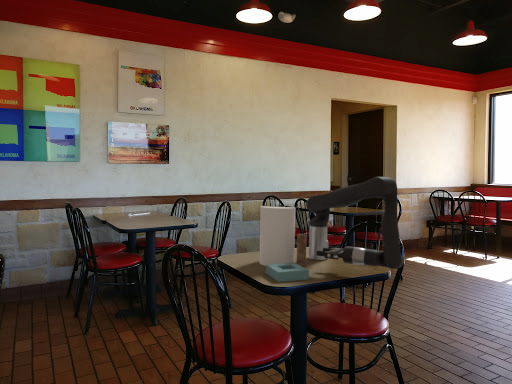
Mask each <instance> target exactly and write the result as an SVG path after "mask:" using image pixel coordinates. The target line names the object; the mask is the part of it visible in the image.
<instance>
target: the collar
mask: <svg viewBox="0 0 512 384" xmlns="http://www.w3.org/2000/svg"><path fill="white" fill-rule="evenodd" d="M309 272H310V270H309V268H307V267H306V268H304V267H302V266H300V265H298V264H297V262H294V263H281V264H266V266H265V274H266V275H267V276H269V277H270V278H272V279H273V280H275V281H276V282H278V283H280V282H293V281H304V280H306V281H307V280H310V279H309V278H310V276H309V274H310V273H309Z"/></svg>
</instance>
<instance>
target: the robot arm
mask: <svg viewBox="0 0 512 384" xmlns="http://www.w3.org/2000/svg"><path fill="white" fill-rule="evenodd" d="M374 198H377V199H382V200H383V204H384V205H383V206H384V211H383V215H382V216H383V217H382V219H381V224H380V227H381V228H380V231H381V237H382V244H383V250H376V249H372V248H371V249H369V248H365V247H364V248H363V247H356V246H348V245H346V246H344V248H341V247H329V240H328V224H329V221H330V211H331V209H338V208H346V207H351V206H355V205H356V204H357V205H358V203H359V202H361V201H362V200H365V199H374ZM305 205H306V209H307V210H308V212H310V213H312V214H315V216H314V217H313V218H311V219H310V220H309V231H308V233H309V235H308V237H309V239H308V259H310V260H312V261H313V260H315V261H324V260H328V259H330V260H339V259H342V262H343V264H352V265H357V266H367V267H368V266H370V267H382V268H384V267H385V268H389V269H391V270H396V269H400V268H401V267H403V266H404V263H405V258H404V256H403V255H402V253H401V248H400V244H401V238H400V236H401V235H400V231H399V224H398V184H397V182H396V181H395V179H394V178H392V177H387V176H374V177H372V178H370V179H368V180H364V182H361V183H356V184H351V185H348V186H344V187H340V188H338V189H334V190H332V191H329V192H327V193H323V194H317V195H311V196H310V197H309V198H307V200H306V203H305Z"/></svg>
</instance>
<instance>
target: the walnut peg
mask: <svg viewBox="0 0 512 384" xmlns="http://www.w3.org/2000/svg"><path fill="white" fill-rule="evenodd" d="M296 235H297V236H296V264H298V265H300V266H302V267H304V268H306V269H307V240H308V239H307V238H308V237H307V233H297V234H296Z"/></svg>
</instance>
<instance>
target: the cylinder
mask: <svg viewBox="0 0 512 384" xmlns="http://www.w3.org/2000/svg"><path fill="white" fill-rule="evenodd" d="M259 209H260V211H259V212H260V213H259V215H260V218H259V257H258V258H259V259H258V260H259V261H258V263H259V265H262V266H265V267H266V264H281V263H295V250H296V249H295V246H296V245H295V243H296V242H295V241H296V240H295V239H296V238H295V237H296V211H297V210H296V207H295V206H294V207H290V206H289V207H288V206H287V207H286V206H266V205H265V206H264V205H261V206H260V208H259Z"/></svg>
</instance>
